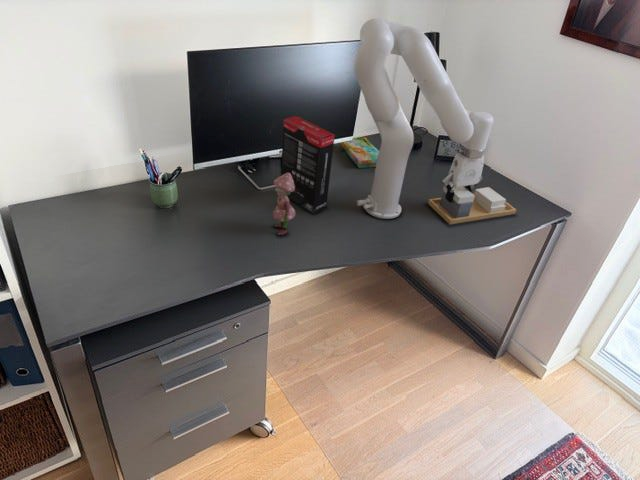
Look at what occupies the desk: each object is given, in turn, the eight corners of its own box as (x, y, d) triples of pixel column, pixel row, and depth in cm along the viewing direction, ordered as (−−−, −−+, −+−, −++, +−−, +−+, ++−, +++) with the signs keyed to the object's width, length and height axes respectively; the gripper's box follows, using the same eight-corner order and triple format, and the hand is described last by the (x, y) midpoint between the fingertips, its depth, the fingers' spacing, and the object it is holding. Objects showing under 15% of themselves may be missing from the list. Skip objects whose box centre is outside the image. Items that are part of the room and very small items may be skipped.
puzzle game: (358, 158, 188) (339, 136, 203) (356, 169, 190) (338, 147, 205) (386, 156, 191) (365, 135, 206) (384, 167, 194) (364, 145, 209)
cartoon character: (298, 239, 150) (303, 180, 138) (275, 241, 147) (278, 182, 136) (289, 220, 157) (293, 164, 146) (267, 222, 155) (270, 165, 144)
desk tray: (449, 226, 163) (450, 220, 162) (427, 205, 174) (428, 199, 172) (514, 215, 173) (516, 210, 172) (490, 196, 183) (492, 190, 182)
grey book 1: (458, 212, 164) (460, 204, 162) (441, 197, 171) (443, 189, 170) (470, 210, 166) (473, 202, 164) (453, 195, 173) (455, 187, 171)
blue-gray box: (456, 219, 166) (458, 212, 164) (439, 204, 173) (441, 197, 171) (468, 217, 167) (470, 210, 166) (451, 202, 175) (453, 195, 173)
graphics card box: (327, 208, 165) (337, 132, 150) (313, 215, 161) (321, 137, 145) (292, 188, 174) (297, 114, 158) (277, 194, 170) (281, 118, 154)
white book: (489, 213, 171) (491, 208, 170) (474, 200, 178) (475, 195, 177) (503, 211, 173) (505, 205, 172) (487, 198, 180) (489, 193, 179)
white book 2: (490, 207, 170) (492, 202, 169) (473, 194, 177) (475, 189, 175) (504, 204, 173) (506, 199, 171) (487, 192, 179) (488, 186, 178)
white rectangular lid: (457, 203, 162) (459, 198, 161) (442, 190, 169) (444, 184, 168) (473, 201, 165) (475, 195, 163) (457, 188, 171) (459, 182, 170)
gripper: (455, 158, 151) (441, 208, 162) (500, 154, 158) (484, 202, 168) (442, 148, 157) (429, 196, 167) (485, 144, 163) (470, 191, 173)
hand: (456, 199), depth 167 cm, fingers closed on white rectangular lid, 6 cm apart
